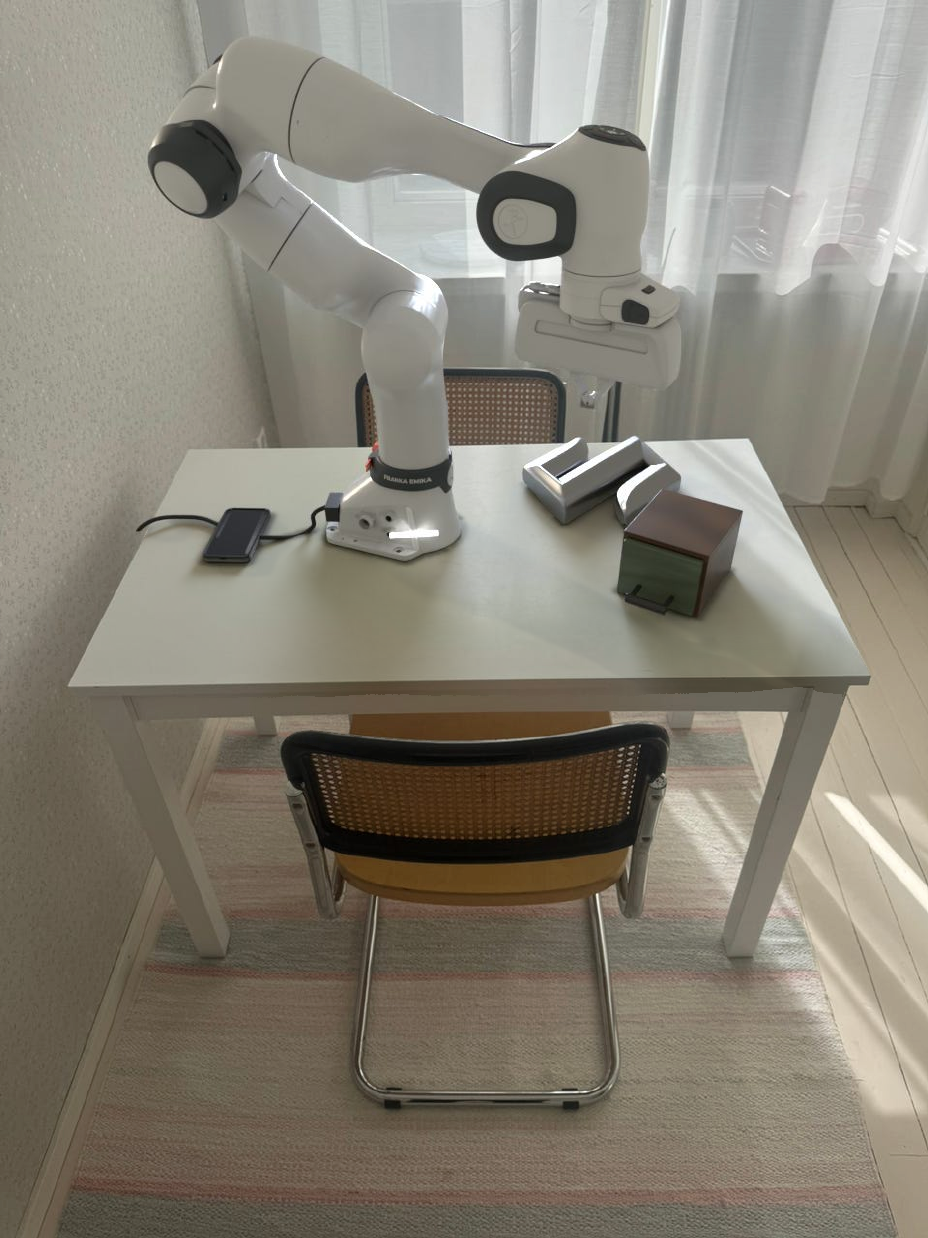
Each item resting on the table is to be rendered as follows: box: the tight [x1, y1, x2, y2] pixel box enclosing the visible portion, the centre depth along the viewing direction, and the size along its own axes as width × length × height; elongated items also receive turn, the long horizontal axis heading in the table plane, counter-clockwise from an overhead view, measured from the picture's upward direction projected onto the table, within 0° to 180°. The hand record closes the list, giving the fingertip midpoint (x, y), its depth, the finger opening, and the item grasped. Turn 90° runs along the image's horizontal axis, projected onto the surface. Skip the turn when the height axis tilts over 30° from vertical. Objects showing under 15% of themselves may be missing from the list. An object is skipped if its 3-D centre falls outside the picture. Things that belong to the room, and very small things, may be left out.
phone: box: [201, 507, 272, 564], centre depth 139 cm, size 8×1×15 cm
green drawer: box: [617, 537, 704, 617], centre depth 121 cm, size 17×11×9 cm, turn 147°
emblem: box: [521, 435, 682, 527], centre depth 148 cm, size 28×5×28 cm
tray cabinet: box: [616, 489, 744, 618], centre depth 124 cm, size 14×13×11 cm
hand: (590, 407), depth 103 cm, fingers closed
